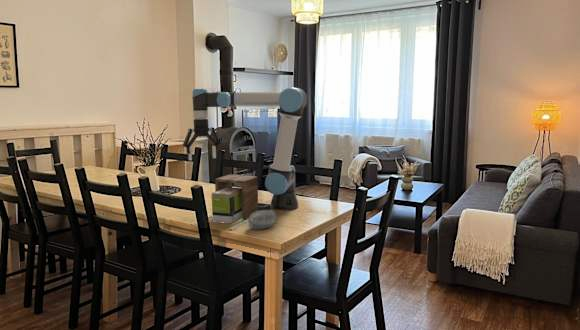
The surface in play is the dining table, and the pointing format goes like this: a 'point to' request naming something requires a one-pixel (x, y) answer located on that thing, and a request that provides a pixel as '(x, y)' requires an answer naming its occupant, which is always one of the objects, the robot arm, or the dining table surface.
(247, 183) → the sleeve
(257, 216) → the gray ridged ovoid
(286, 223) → the dining table surface
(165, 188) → the dining table surface
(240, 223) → the lane
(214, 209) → the tea box
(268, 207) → the pit tray
